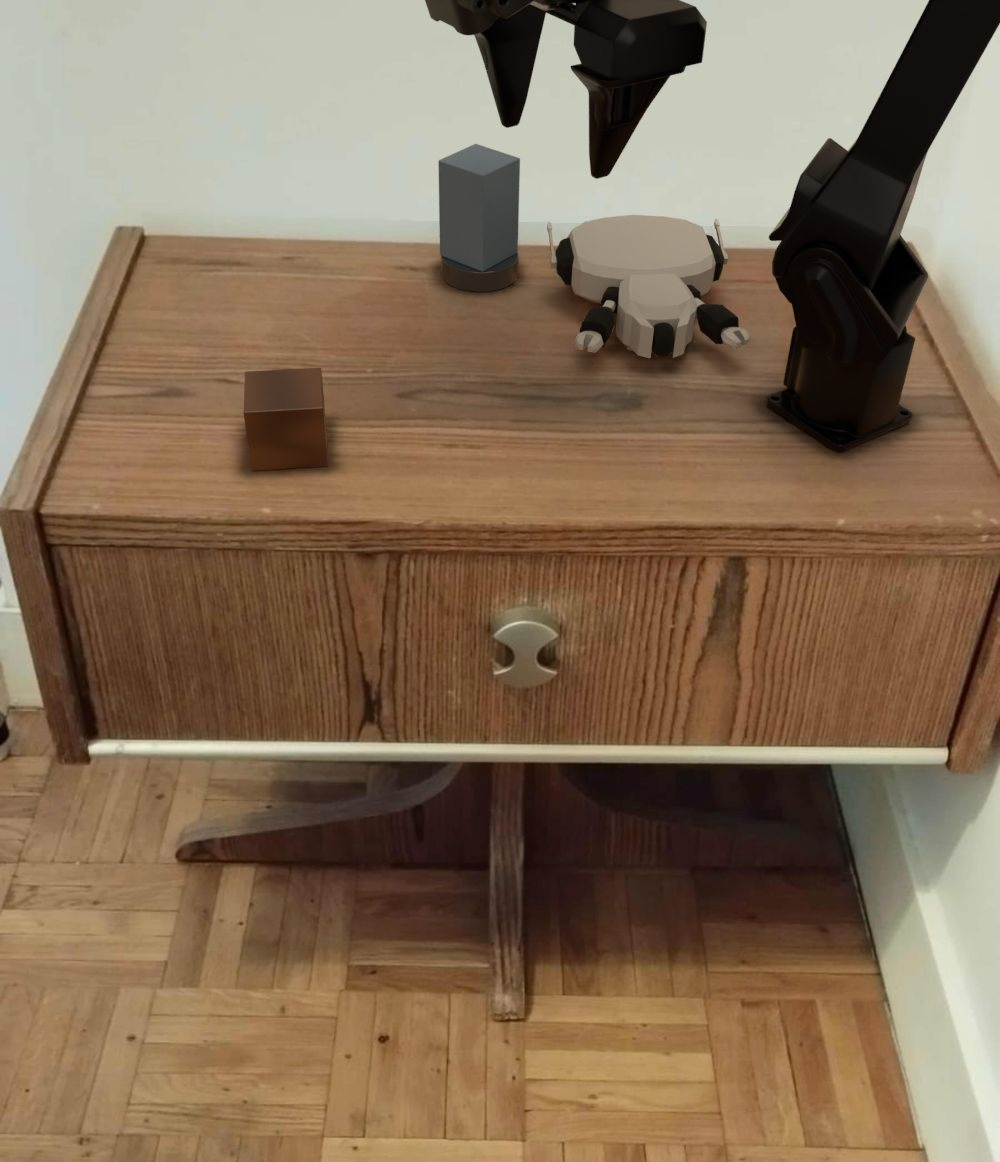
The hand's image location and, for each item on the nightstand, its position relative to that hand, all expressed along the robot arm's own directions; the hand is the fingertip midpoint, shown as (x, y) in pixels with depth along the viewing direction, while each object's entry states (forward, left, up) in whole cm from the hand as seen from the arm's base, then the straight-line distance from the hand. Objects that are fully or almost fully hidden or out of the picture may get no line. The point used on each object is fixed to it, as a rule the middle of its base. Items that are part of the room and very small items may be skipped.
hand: (553, 150), depth 77 cm
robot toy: (-1, -7, -13) cm, 15 cm away
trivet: (+10, -2, -13) cm, 17 cm away
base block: (-2, +20, -13) cm, 24 cm away
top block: (+11, -2, -12) cm, 16 cm away
